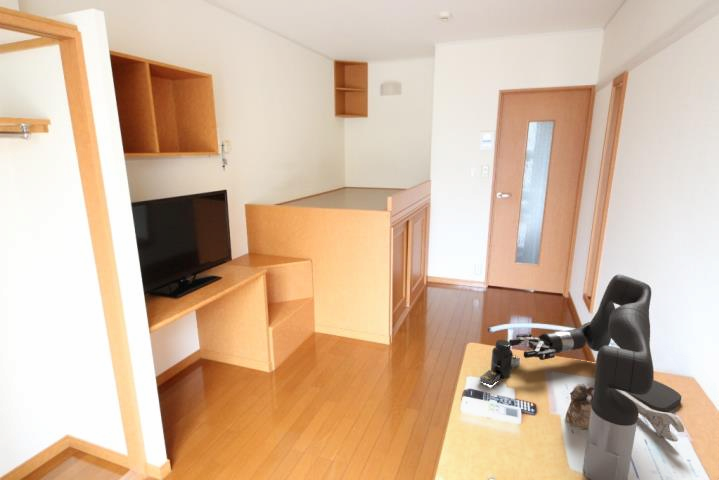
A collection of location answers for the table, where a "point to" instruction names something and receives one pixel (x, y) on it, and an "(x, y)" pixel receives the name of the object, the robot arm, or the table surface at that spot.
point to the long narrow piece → (493, 377)
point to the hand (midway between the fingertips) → (516, 348)
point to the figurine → (580, 407)
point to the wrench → (658, 419)
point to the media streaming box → (659, 397)
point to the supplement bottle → (502, 358)
